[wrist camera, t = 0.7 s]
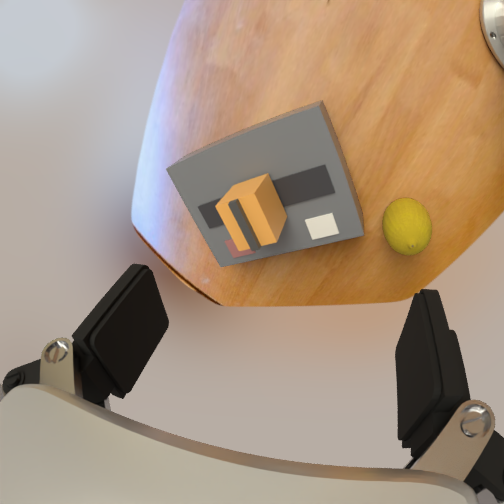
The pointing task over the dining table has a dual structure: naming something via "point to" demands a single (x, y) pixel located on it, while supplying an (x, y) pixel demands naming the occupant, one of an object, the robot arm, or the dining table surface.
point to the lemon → (407, 226)
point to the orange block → (252, 213)
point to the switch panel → (275, 183)
